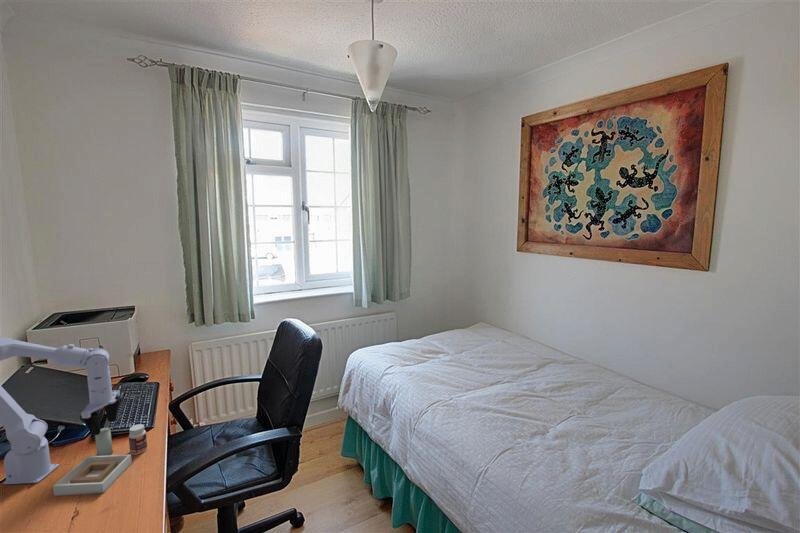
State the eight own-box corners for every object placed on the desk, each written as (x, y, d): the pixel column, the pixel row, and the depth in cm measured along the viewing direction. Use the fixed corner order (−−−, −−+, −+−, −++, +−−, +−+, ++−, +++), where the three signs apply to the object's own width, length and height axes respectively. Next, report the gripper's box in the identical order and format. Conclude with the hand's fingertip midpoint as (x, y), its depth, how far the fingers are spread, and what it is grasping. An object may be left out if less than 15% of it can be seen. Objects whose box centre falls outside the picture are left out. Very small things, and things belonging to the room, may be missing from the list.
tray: (54, 495, 106) (52, 486, 105) (87, 465, 119) (86, 456, 118) (103, 493, 107) (102, 483, 106) (131, 463, 120) (130, 454, 119)
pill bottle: (138, 456, 123) (136, 432, 122) (126, 454, 124) (124, 430, 123) (151, 447, 128) (148, 424, 127) (139, 445, 129) (136, 422, 128)
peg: (94, 458, 122) (91, 435, 121) (102, 450, 126) (100, 428, 125) (107, 457, 122) (104, 434, 121) (115, 449, 126) (113, 427, 125)
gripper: (97, 398, 113) (101, 440, 115) (127, 377, 128) (131, 415, 129) (72, 398, 113) (76, 441, 115) (105, 377, 127) (109, 415, 129)
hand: (104, 427), depth 122 cm, fingers open, 7 cm apart
